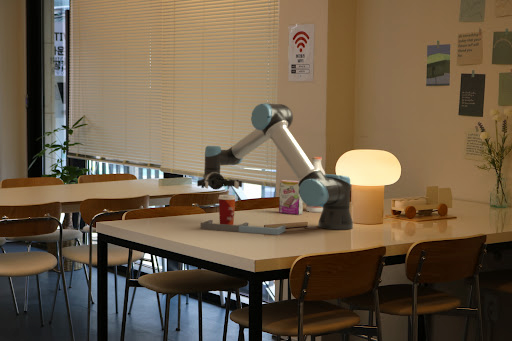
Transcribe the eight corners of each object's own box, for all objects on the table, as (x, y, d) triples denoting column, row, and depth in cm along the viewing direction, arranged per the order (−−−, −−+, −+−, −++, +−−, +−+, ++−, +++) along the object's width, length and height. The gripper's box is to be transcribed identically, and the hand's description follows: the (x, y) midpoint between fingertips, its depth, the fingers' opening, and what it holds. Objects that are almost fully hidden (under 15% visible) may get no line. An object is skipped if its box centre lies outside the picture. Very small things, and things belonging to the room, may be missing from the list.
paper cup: (233, 230, 310) (233, 196, 309) (215, 229, 312) (216, 196, 311) (237, 227, 318) (238, 195, 317) (220, 226, 320) (220, 194, 319)
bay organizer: (285, 231, 311) (285, 225, 311) (278, 234, 301) (278, 228, 301) (209, 225, 321) (209, 219, 321) (200, 228, 311) (200, 223, 311)
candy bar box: (278, 213, 369) (279, 180, 368) (282, 212, 373) (283, 179, 372) (298, 215, 364) (299, 181, 362) (303, 214, 368) (304, 181, 367)
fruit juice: (309, 209, 386) (311, 156, 384) (326, 211, 382) (328, 157, 380) (303, 211, 377) (305, 156, 375) (321, 213, 374) (323, 157, 372)
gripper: (241, 189, 347) (250, 194, 327) (188, 188, 342) (194, 193, 321) (241, 173, 347) (250, 177, 326) (188, 172, 341) (194, 176, 321)
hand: (222, 185), depth 324 cm, fingers open, 13 cm apart
